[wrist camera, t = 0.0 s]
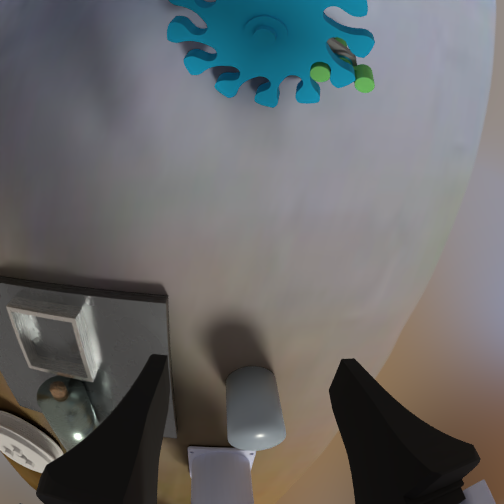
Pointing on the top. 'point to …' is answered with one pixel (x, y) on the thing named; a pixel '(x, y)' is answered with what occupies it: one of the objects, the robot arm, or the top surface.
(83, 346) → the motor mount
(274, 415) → the grey rounded capsule
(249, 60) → the teal bumpy piece
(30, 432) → the lid
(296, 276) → the top surface
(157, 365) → the robot arm
